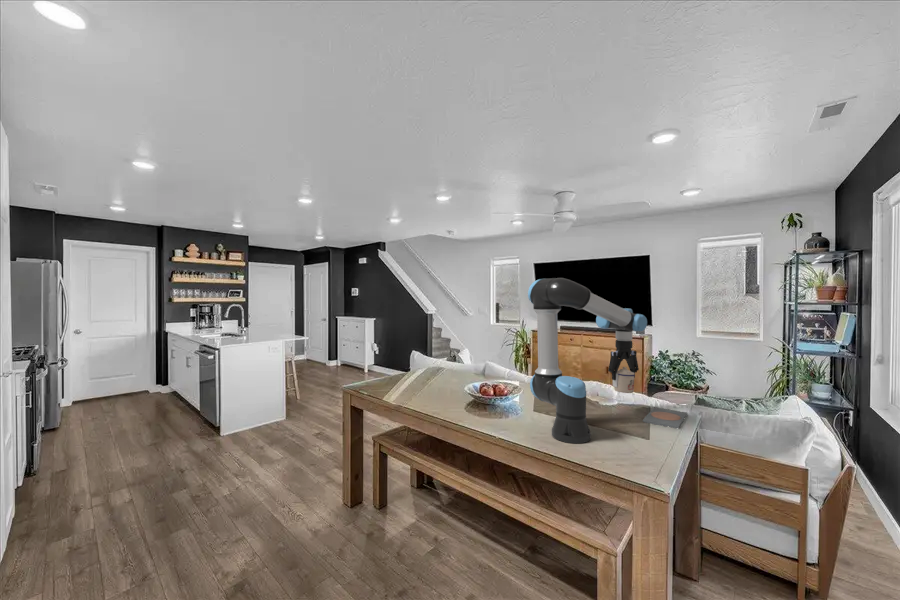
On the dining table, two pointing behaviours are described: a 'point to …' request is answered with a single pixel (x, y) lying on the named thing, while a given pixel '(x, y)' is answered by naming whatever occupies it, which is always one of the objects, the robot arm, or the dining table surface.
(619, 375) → the teacup with lid
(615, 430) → the dining table surface
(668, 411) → the slate tray
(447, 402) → the dining table surface
